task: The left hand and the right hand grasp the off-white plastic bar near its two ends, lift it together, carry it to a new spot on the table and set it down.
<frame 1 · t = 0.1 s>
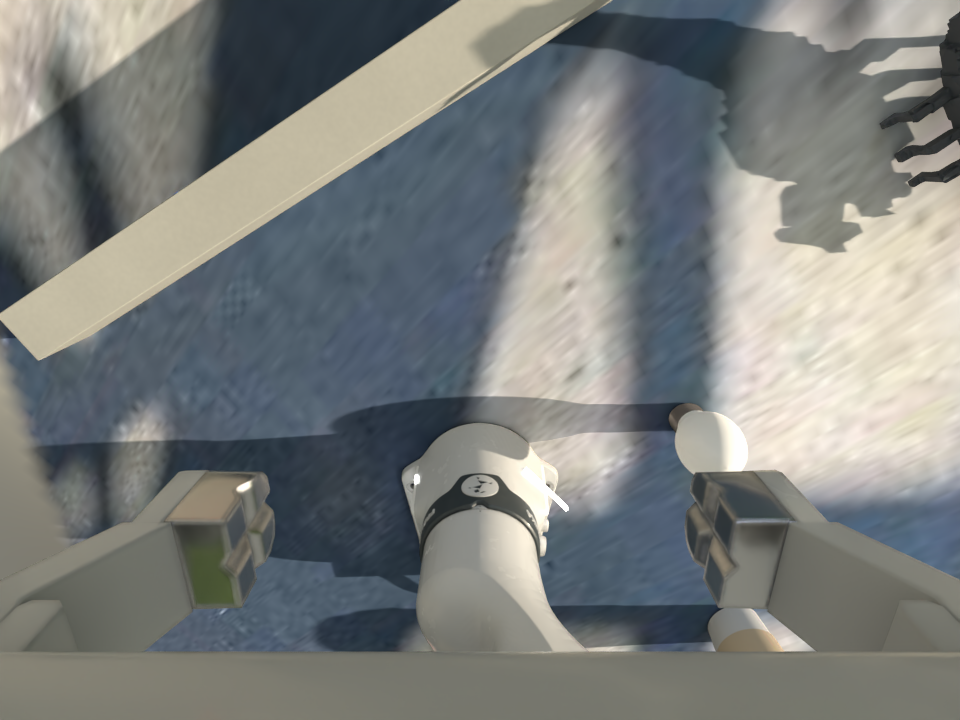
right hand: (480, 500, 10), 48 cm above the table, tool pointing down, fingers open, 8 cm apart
coffee cup: (732, 623, 75), on the table
bar: (314, 157, 53), on the table
light bulb: (686, 415, 63), on the table
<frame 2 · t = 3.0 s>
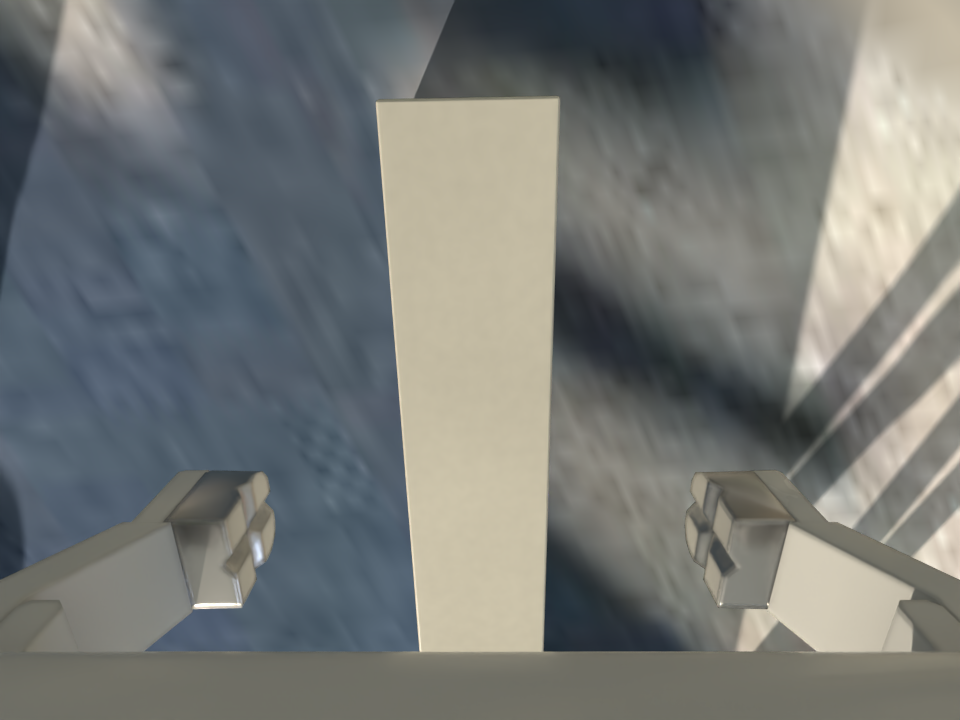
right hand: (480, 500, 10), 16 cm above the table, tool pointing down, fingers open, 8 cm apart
bar: (482, 678, 34), on the table, touching left hand
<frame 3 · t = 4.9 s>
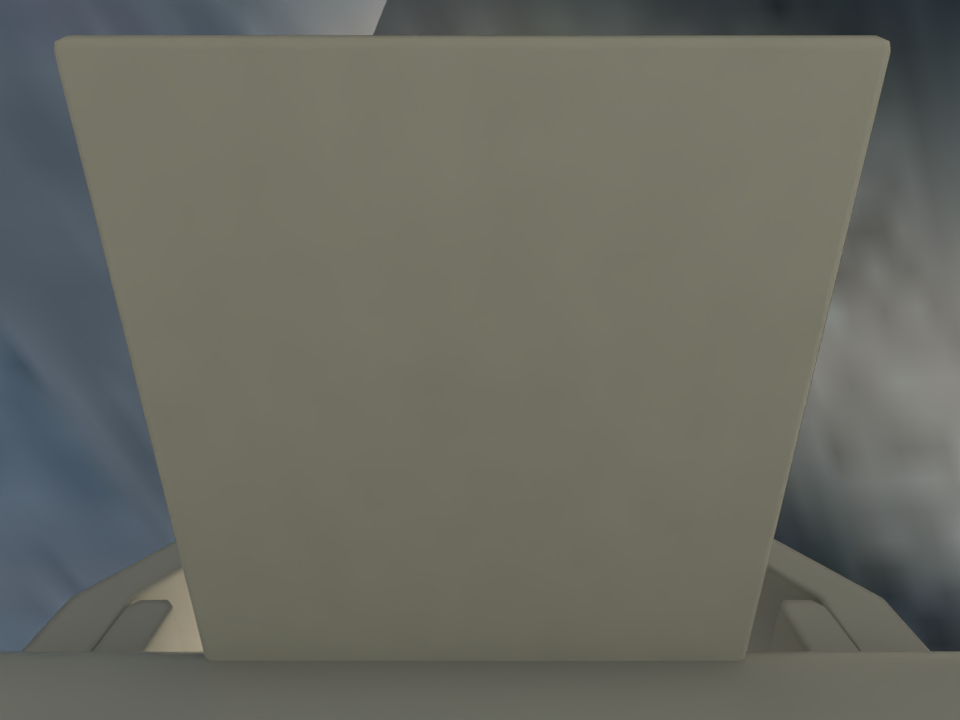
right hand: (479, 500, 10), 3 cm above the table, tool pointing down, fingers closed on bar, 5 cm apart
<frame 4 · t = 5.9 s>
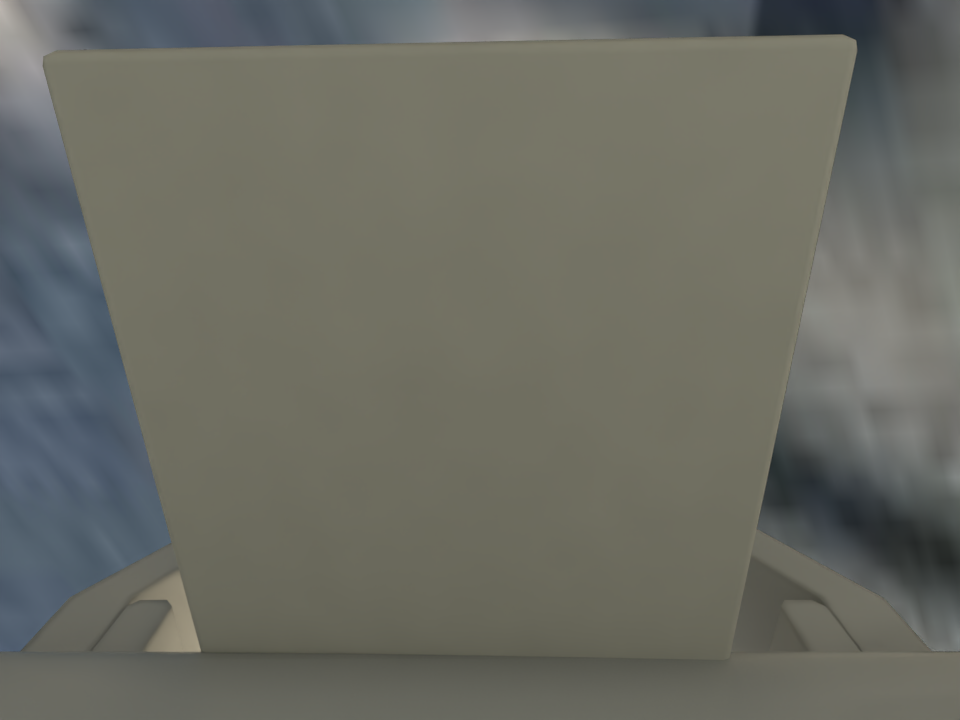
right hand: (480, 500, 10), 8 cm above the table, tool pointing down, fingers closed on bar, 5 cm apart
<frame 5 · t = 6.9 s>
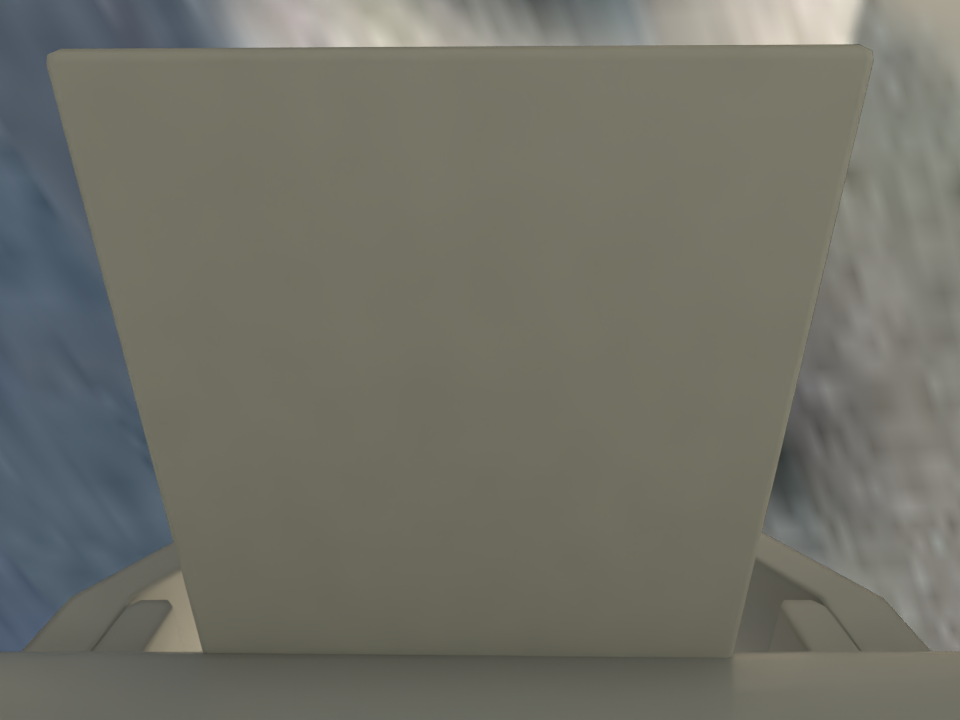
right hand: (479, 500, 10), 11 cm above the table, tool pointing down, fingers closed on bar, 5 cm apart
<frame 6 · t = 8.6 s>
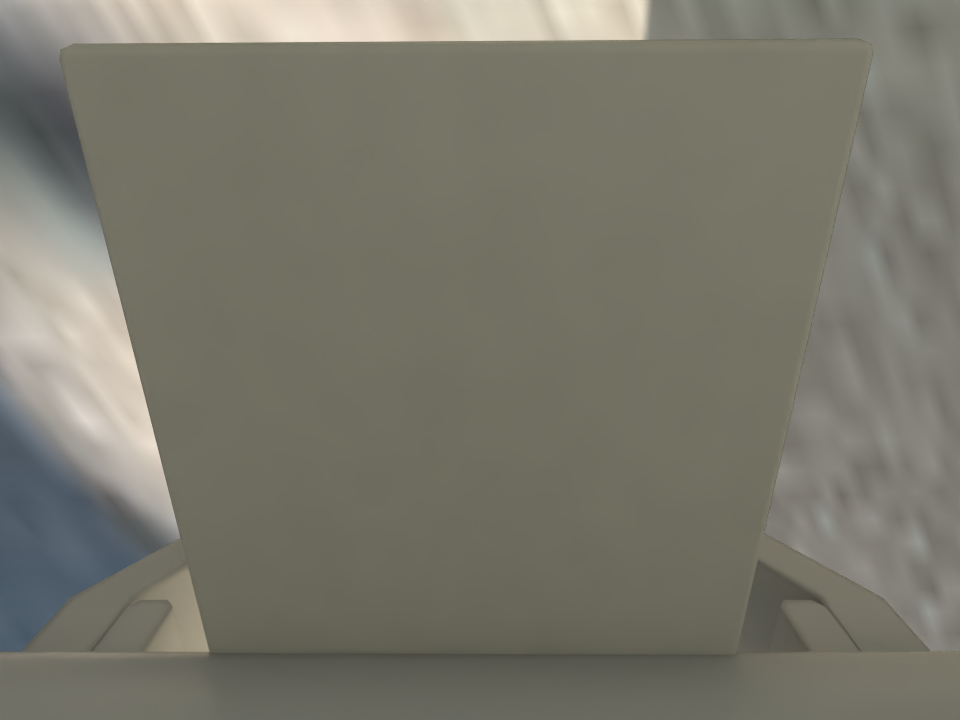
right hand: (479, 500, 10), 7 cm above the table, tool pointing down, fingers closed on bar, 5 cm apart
when the left hand's fingers open (2 cm above the table, at t = 9.2 s): bar drops 1 cm, on the table.
when the right hand's fingers open (4 cm above the table, at t = 9.4 s): bar stays where it is, on the table.
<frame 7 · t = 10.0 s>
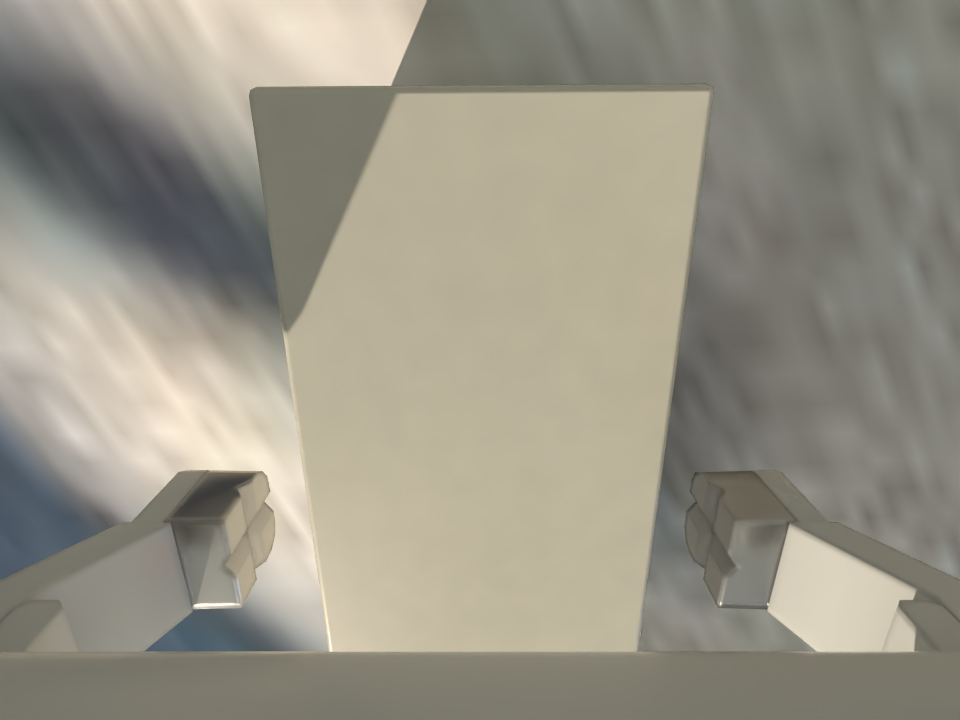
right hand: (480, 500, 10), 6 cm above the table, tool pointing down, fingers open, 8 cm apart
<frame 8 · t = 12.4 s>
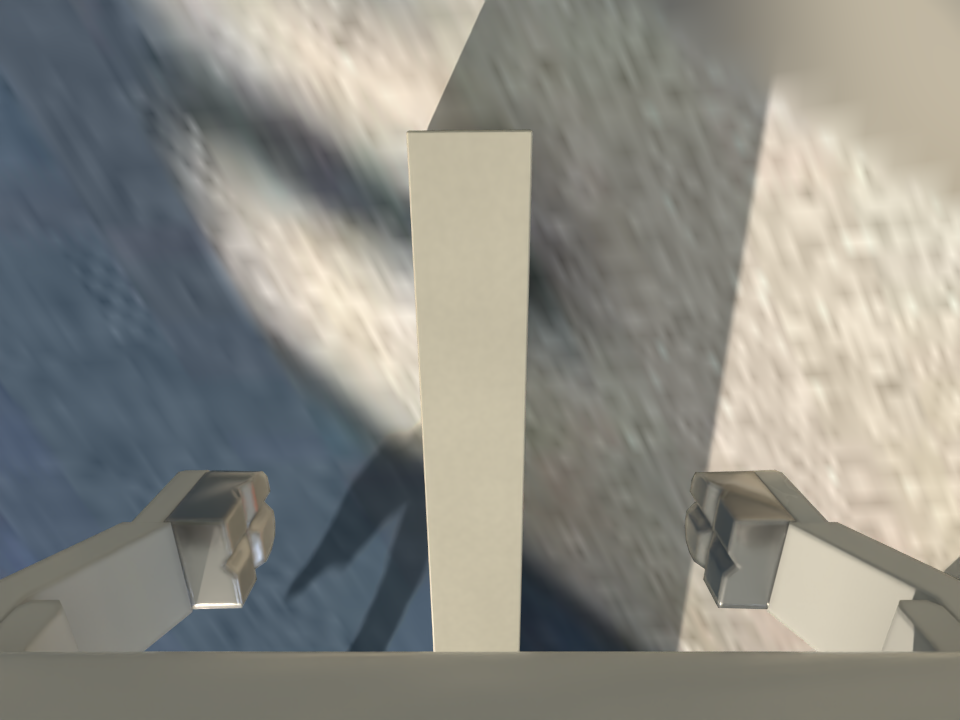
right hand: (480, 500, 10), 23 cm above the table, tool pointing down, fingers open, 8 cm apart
bar: (477, 594, 41), on the table
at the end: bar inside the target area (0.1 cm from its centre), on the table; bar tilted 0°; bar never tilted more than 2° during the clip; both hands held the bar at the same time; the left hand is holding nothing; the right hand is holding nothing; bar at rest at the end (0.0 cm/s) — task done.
